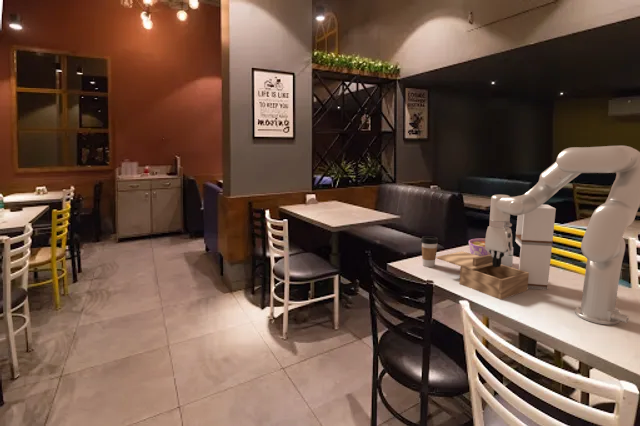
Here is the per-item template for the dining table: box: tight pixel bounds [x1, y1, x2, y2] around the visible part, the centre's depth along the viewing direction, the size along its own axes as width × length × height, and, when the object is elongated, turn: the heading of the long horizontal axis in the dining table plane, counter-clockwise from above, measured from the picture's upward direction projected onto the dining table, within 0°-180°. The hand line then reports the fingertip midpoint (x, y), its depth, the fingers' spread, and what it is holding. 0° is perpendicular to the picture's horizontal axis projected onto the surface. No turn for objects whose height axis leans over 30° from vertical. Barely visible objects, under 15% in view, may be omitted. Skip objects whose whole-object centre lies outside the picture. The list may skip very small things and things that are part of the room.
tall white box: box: [514, 204, 557, 291], centre depth 160 cm, size 11×11×35 cm
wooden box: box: [459, 265, 529, 300], centre depth 159 cm, size 20×18×8 cm
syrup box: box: [501, 246, 514, 268], centre depth 173 cm, size 6×6×14 cm
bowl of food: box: [468, 237, 491, 256], centre depth 190 cm, size 20×20×12 cm
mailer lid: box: [436, 250, 493, 270], centre depth 170 cm, size 20×18×4 cm
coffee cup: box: [420, 235, 439, 268], centre depth 189 cm, size 8×8×15 cm
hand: (496, 266), depth 157 cm, fingers closed
